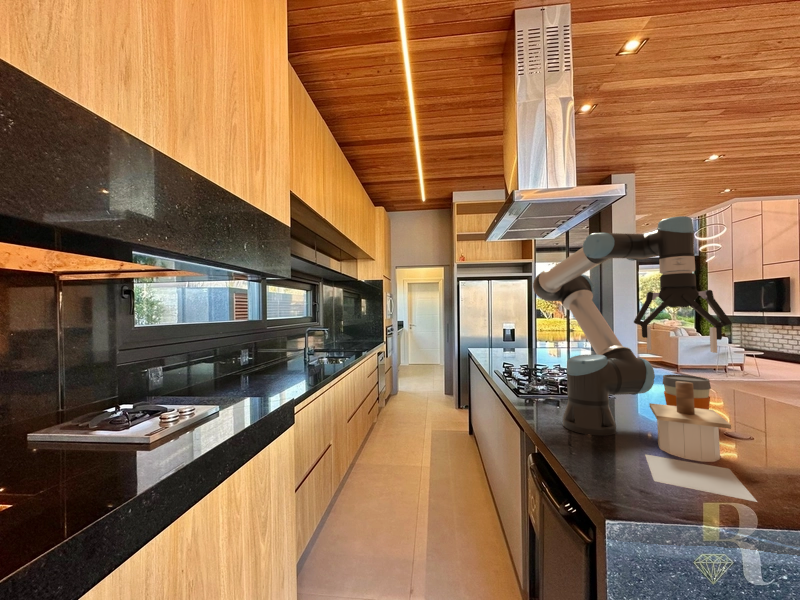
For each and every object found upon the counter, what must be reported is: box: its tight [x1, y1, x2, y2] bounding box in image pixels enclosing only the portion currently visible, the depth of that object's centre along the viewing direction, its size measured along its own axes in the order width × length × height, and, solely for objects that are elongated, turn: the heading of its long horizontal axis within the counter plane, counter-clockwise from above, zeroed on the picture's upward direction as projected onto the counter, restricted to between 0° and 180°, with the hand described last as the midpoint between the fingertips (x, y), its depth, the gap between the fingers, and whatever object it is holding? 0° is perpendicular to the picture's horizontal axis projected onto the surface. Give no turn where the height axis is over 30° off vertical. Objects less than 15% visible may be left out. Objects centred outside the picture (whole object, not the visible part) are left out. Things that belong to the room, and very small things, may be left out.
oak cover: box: [649, 381, 732, 430], centre depth 88 cm, size 14×14×9 cm
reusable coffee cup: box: [662, 374, 712, 410], centre depth 113 cm, size 13×13×15 cm
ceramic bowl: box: [656, 419, 721, 463], centre depth 87 cm, size 12×12×10 cm
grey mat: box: [644, 454, 758, 503], centre depth 74 cm, size 16×16×1 cm
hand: (680, 350), depth 89 cm, fingers open, 13 cm apart
